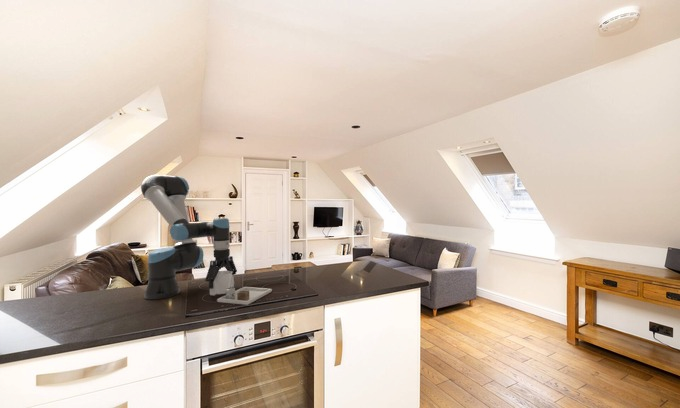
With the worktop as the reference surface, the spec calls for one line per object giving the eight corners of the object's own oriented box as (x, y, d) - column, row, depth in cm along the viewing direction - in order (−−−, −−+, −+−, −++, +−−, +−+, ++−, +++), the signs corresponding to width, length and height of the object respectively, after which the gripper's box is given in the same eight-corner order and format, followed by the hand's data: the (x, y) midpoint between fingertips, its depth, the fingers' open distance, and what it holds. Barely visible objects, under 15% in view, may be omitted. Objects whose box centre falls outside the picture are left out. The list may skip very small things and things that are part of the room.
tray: (217, 304, 128) (217, 298, 128) (244, 291, 147) (244, 286, 147) (247, 307, 123) (247, 301, 123) (271, 293, 142) (271, 288, 142)
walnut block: (237, 302, 127) (237, 293, 127) (240, 299, 131) (240, 290, 131) (246, 302, 127) (246, 293, 127) (249, 299, 131) (249, 290, 131)
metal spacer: (223, 300, 129) (223, 289, 129) (229, 297, 133) (229, 287, 133) (231, 301, 128) (231, 290, 128) (236, 298, 132) (236, 287, 132)
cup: (228, 297, 138) (227, 274, 138) (207, 297, 138) (207, 275, 138) (235, 291, 148) (235, 270, 148) (217, 291, 148) (216, 270, 148)
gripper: (209, 253, 130) (210, 299, 130) (243, 245, 154) (243, 284, 154) (196, 252, 132) (197, 298, 132) (231, 245, 156) (232, 283, 156)
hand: (222, 290), depth 143 cm, fingers open, 13 cm apart
